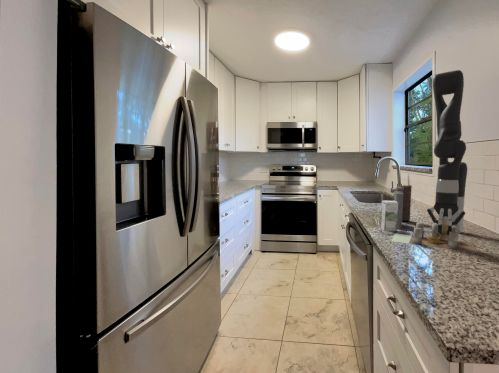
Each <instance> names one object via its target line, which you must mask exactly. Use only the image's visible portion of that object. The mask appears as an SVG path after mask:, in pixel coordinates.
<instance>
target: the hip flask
mask: <svg viewBox="0 0 499 373" xmlns="http://www.w3.org/2000/svg"><path fill="white" fill-rule="evenodd" d="M403 189H404V188H402V187H398V186H396V190H394V192H393V193H394V194H393V201H397V202H398V212H397V228H396V230H398V229H399V230H401V229H402V228H403V227H402V226H403V221H402V211H403Z"/></svg>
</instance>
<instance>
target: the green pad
mask: <svg viewBox="0 0 499 373" xmlns="http://www.w3.org/2000/svg"><path fill="white" fill-rule="evenodd" d="M411 237H412V234H403V233H395V235H394V236H393V237H392V238H391V241H390V242H393V243H394V242H395V243H401V244H402V243H403V244H408V245H409V241H410V239H411Z"/></svg>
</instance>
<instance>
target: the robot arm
mask: <svg viewBox="0 0 499 373" xmlns="http://www.w3.org/2000/svg"><path fill="white" fill-rule="evenodd" d="M464 78H465V77H464V73H463V71H462V70H458V69H457V70H451V71H446V72H441V73H437V74H434V75H433V78H432V90H433V98H434V105H435V113H436V114H435V115H436V133H437V134H436V135H437V141H436V143H435V145H434V149H433V153H434V154H433V155H434V156H435V157H436V158H439V161H438V163H439V166H438V168H437V181H436V186H435V200H434V201H435V202H434V203H435V204H434V205H433V207H430V208H427V210H426V211H427V213H428V215H429V217H430V219H431V221H432V222H433V224H438V233H440V234H442V219H443V220H449V221H448V231H447V235H449V232H451V230H452V226H455V227H458V229H457V232H458V233H459V234H462V233H463V232H464V231H463V230H464V221H465V220H464V219H465V218H464V217H465V215H466V212H465V209H464V208H465V195H466V194H465V193H466V192H465V191H466V186H467V184H466V183H467V176H468V164H467V163H465V161H463V158H464V155H465V154H466V151H467V144H466V143H465V141H464V140H462V139H461V138H462V135H463V134H462V122H461V109H462V104H463V97H464V96H463V94H464V87H465V86H464V84H465V82H464V80H465V79H464ZM447 95H453V96H452V98H451V100H450V102H449V103H448V104H447V103H446V101H445V99H444V96H447ZM449 159H453V160H452V161H450V160H449ZM434 212H436V214H438V219H437V218H436V217H435V215H434Z"/></svg>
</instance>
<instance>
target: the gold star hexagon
mask: <svg viewBox="0 0 499 373" xmlns="http://www.w3.org/2000/svg"><path fill="white" fill-rule="evenodd" d="M426 237H427V242H429V243H440V237H436V236H432V235H427V236H426Z"/></svg>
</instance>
